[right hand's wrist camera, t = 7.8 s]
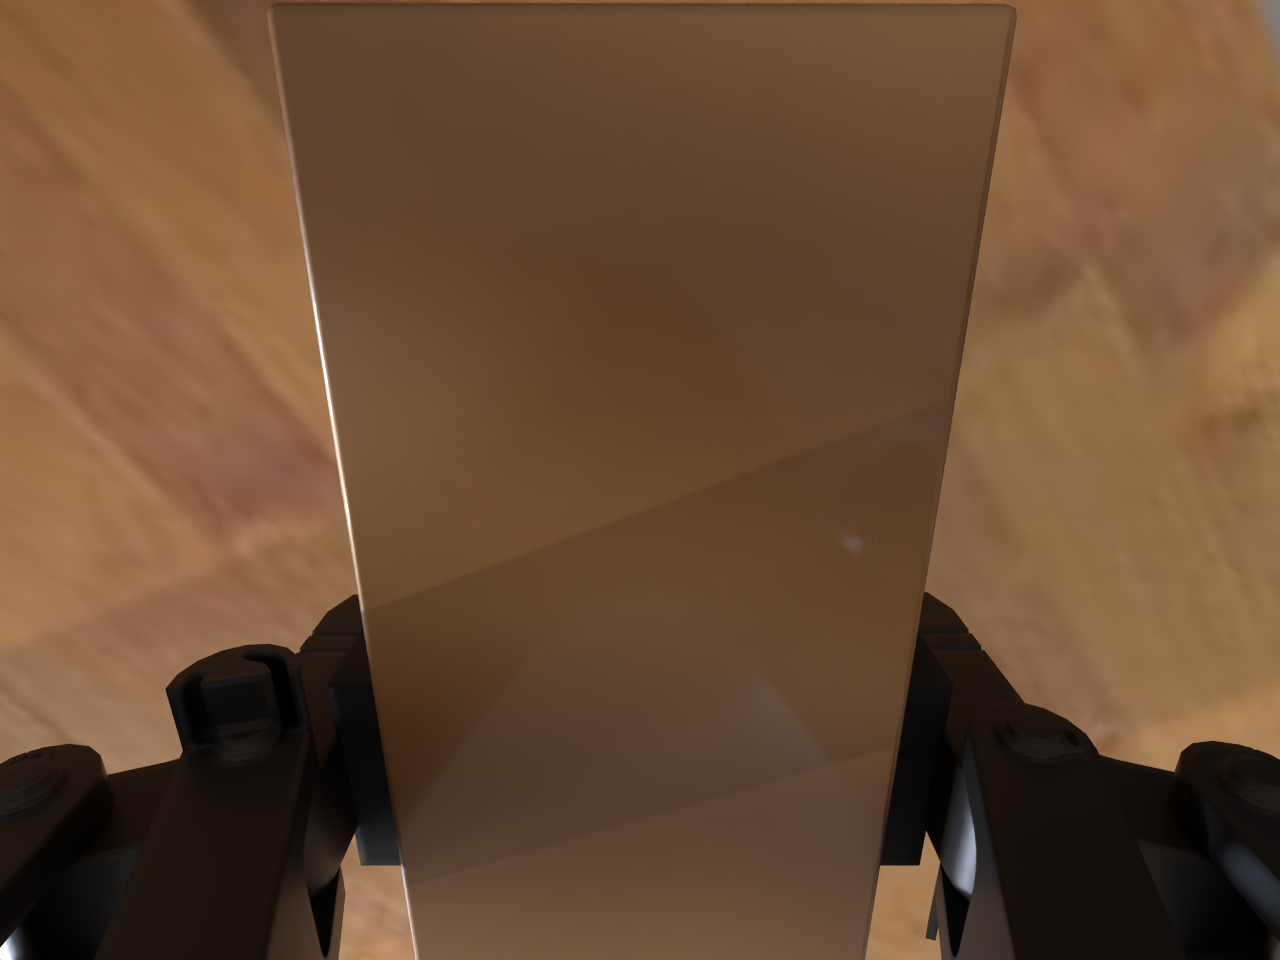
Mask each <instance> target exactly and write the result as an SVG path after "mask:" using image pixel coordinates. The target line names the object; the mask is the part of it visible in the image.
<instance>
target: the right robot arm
mask: <svg viewBox="0 0 1280 960" xmlns="http://www.w3.org/2000/svg"><path fill="white" fill-rule="evenodd" d="M165 690H166V693H167V697H168V700H169V703H170V707H171V710H172V714H173V717H174V721H175V724H176V728H177V731H178V735H179V738H180V742H181V745H182V749H183V752H182V754H181V757H180V758H179V759H175V760H172V761H168V762H165V763H160V764H156V765H151V766H146V767H142V768H137V769H132V770H128V771H123V772H119V773H114V774H109V775H107V773H106V770H105V767H104V764H103V761H102V758H101V756H100V754H98V753H97V752H96V751H94V750H93V749H92V748H91V747H89V746H82V745H74V744H64V745H57V746H50V747H43V748H40V749H36V750H33V751H29V752H28V753H23V754H20V755H17V756H15V757H12V758H10V759H8V760H7V761H5V762H3V763H1V764H0V957H1V959H2V960H338V958H339V949H340V939H341V930H342V920H343V911H344V901H345V888H344V881H343V876H342V871H341V866H340V864H341V862H342V860H343V858H344V855H345V853H346V851H347V849H348V847H349V844H350V842H351V840H352V838H353V835H354V833H355V836H356V841H357V847H358V852H359V857H360V863H361V865H401V863H400V857H399V850H398V844H397V838H396V831H395V825H394V819H393V812H392V806H391V800H390V793H389V787H388V781H387V774H386V768H385V762H384V755H383V749H382V743H381V736H380V730H379V723H378V717H377V711H376V704H375V698H374V692H373V685H372V679H371V673H370V666H369V660H368V654H367V647H366V641H365V635H364V628H363V622H362V616H361V609H360V603H359V597H358V595H352V596H351V597H349V598H348V599H346V600H345V601H343V602H342V603H340V604H339V605H337V606H336V607H334V608H333V609H331V610H330V611H328V612H327V613H326V615H325V616H324V617H323V619H322V620H321V621H320V623H319V624H318V625H317V627H316V628H315V629H314V630H313V634H312V636H309V637H308V638H307V640H306V641H305V642H304V644H303V645H302V646H301V648H300V652H299V653H296V654H294V653H293V652H292V651H291V650H289V649H288V648H286V647H281V646H277V645H272V644H257V645H244V646H240V647H236V648H232V649H227V650H223V651H220V652H218V653H215V654H213V655H211V656H208V657H206V658H203V659H201V660H199V661H197V662H195V663H194V664H192V665H191V666H189V667H188V668H186V669H185V670H183V671H182V672H180V673H179V674H177V676H176V677H175V678H174V679H173V680H172V682H171V683H170V684H169V685H168V686H167V688H166V689H165ZM926 831H927V833H928V835H929V838H930V840H931V842H932V844H933V846H934V849H935V851H936V853H937V855H938V857H939V860H940V866H939V871H938V876H937V881H936V885H935V890H934V895H933V900H932V905H931V910H930V915H929V920H928V926H927V932H926V938H927V939H931V940H936V935H937V930H938V928H939V937H940V947H941V956H942V960H1280V959H1279V958H1280V760H1279V759H1277V758H1275V757H1274V756H1272V755H1270V754H1267V753H1265V752H1262V751H1259V750H1257V749H1256V750H1254V749H1253V748H1250V747H1246V746H1242V745H1239V744H1232V743H1225V742H1218V741H1207V742H1199V743H1192V744H1191V745H1190V746H1188V747H1187V748H1186V749H1184V750H1183V751H1182V752H1181V754H1180V757H1179V760H1178V763H1177V766H1176V769H1175V772H1172V771H1167V770H1162V769H1158V768H1153V767H1148V766H1144V765H1139V764H1134V763H1130V762H1125V761H1121V760H1116V759H1113V758H1109V757H1105V756H1102V755H1099V753H1098V751H1097V749H1096V747H1095V746H1094V745H1093V743H1092V742H1091V740H1090V739H1089V738H1088V736H1087V735H1086V734H1085V733H1084V732H1083V731H1081V730H1080V729H1079V728H1078V727H1076V726H1075V725H1074V724H1072V723H1071V722H1070V721H1068V720H1067V719H1065V718H1063V717H1061V716H1059V715H1057V714H1055V713H1053V712H1051V711H1049V710H1046V709H1044V708H1041V707H1037V706H1033V705H1030V704H1026V703H1024V701H1023V700H1022V699H1021V698H1020V696H1019V695H1018V694H1017V692H1016V691H1015V690H1014V688H1013V687H1012V686H1011V684H1010V683H1009V682H1008V681H1007V679H1006V678H1005V677H1004V675H1003V674H1002V673H1001V671H1000V670H999V669H998V667H997V666H996V665H995V664H994V662H993V661H992V660H991V658H990V657H989V656H988V654H987V653H986V652H985V650H981V645H980V644H979V643H978V641H977V640H976V639H975V637H974V636H973V635H972V633H969V632H968V628H967V627H966V626H965V624H964V623H963V622H962V620H961V619H960V618H959V616H958V615H957V614H956V613H955V611H954V610H953V609H952V608H950V607H949V606H947V605H946V604H944V603H943V602H941V601H940V600H938V599H936V598H935V597H933V596H932V595H930V594H929V593H927V592H924V595H923V602H922V608H921V614H920V620H919V626H918V633H917V639H916V645H915V651H914V658H913V664H912V670H911V676H910V682H909V689H908V695H907V701H906V707H905V713H904V720H903V726H902V732H901V738H900V744H899V751H898V757H897V763H896V769H895V775H894V782H893V788H892V794H891V800H890V806H889V813H888V819H887V825H886V831H885V837H884V844H883V850H882V856H881V862H880V865H920V860H921V854H922V849H923V844H924V839H925V833H926Z"/></svg>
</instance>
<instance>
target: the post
mask: <svg viewBox="0 0 1280 960" xmlns="http://www.w3.org/2000/svg"><path fill="white" fill-rule="evenodd" d="M1016 18H1017V15H1016V8H1014V7H1011V6H1009V5H1007V4H851V3H277V4H274V5H272V6H270V7H268V11H267V20H268V26H269V33H270V39H271V45H272V52H273V58H274V64H275V71H276V77H277V83H278V90H279V96H280V102H281V109H282V115H283V121H284V128H285V134H286V140H287V147H288V153H289V159H290V166H291V172H292V178H293V185H294V191H295V198H296V204H297V210H298V217H299V223H300V229H301V236H302V242H303V248H304V255H305V261H306V267H307V274H308V280H309V286H310V293H311V299H312V305H313V312H314V318H315V324H316V331H317V337H318V343H319V350H320V356H321V362H322V369H323V375H324V381H325V388H326V394H327V400H328V407H329V413H330V419H331V426H332V432H333V438H334V445H335V451H336V457H337V464H338V470H339V476H340V483H341V489H342V495H343V502H344V508H345V514H346V521H347V527H348V533H349V540H350V546H351V552H352V559H353V565H354V571H355V578H356V584H357V590H358V597H359V603H360V609H361V616H362V622H363V628H364V635H365V641H366V647H367V654H368V660H369V666H370V673H371V679H372V685H373V692H374V698H375V704H376V711H377V717H378V723H379V730H380V736H381V743H382V749H383V755H384V762H385V768H386V774H387V781H388V787H389V793H390V800H391V806H392V812H393V819H394V825H395V831H396V838H397V844H398V850H399V857H400V863H401V869H402V876H403V882H404V888H405V895H406V901H407V907H408V914H409V920H410V926H411V933H412V939H413V945H414V952H415V958H416V960H865V955H866V949H867V943H868V937H869V931H870V924H871V918H872V912H873V906H874V900H875V893H876V887H877V881H878V875H879V869H880V862H881V856H882V850H883V844H884V837H885V831H886V825H887V819H888V813H889V806H890V800H891V794H892V788H893V782H894V775H895V769H896V763H897V757H898V751H899V744H900V738H901V732H902V726H903V720H904V713H905V707H906V701H907V695H908V689H909V682H910V676H911V670H912V664H913V658H914V651H915V645H916V639H917V633H918V626H919V620H920V614H921V608H922V602H923V595H924V589H925V583H926V577H927V571H928V564H929V558H930V552H931V546H932V540H933V533H934V527H935V521H936V515H937V509H938V502H939V496H940V490H941V484H942V478H943V471H944V465H945V459H946V453H947V447H948V440H949V434H950V428H951V422H952V415H953V409H954V403H955V397H956V391H957V384H958V378H959V372H960V366H961V360H962V353H963V347H964V341H965V335H966V329H967V322H968V316H969V310H970V304H971V298H972V291H973V285H974V279H975V273H976V267H977V260H978V254H979V248H980V242H981V235H982V229H983V223H984V217H985V211H986V204H987V198H988V192H989V186H990V180H991V173H992V167H993V161H994V155H995V149H996V142H997V136H998V130H999V124H1000V118H1001V111H1002V105H1003V99H1004V93H1005V87H1006V80H1007V74H1008V68H1009V62H1010V56H1011V49H1012V43H1013V37H1014V31H1015V24H1016Z"/></svg>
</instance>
